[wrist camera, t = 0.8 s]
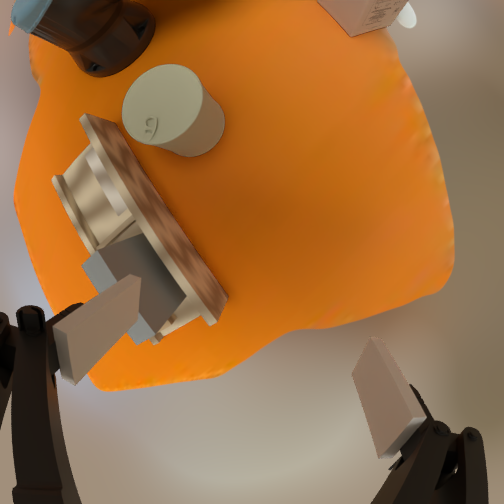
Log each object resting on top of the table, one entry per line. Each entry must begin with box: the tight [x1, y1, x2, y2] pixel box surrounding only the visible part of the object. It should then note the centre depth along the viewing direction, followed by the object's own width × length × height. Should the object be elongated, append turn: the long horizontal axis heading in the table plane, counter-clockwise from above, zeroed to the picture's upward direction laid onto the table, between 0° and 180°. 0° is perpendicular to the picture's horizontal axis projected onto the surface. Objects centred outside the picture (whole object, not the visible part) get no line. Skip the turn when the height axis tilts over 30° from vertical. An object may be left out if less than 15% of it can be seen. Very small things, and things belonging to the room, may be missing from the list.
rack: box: [52, 113, 228, 345], centre depth 35 cm, size 32×14×8 cm, turn 34°
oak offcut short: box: [157, 313, 177, 333], centre depth 39 cm, size 5×3×2 cm, turn 34°
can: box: [122, 64, 225, 157], centre depth 29 cm, size 9×9×12 cm
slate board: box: [81, 233, 187, 345], centre depth 31 cm, size 10×3×14 cm, turn 34°
